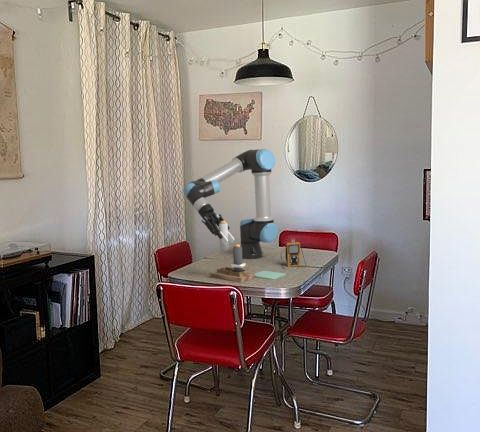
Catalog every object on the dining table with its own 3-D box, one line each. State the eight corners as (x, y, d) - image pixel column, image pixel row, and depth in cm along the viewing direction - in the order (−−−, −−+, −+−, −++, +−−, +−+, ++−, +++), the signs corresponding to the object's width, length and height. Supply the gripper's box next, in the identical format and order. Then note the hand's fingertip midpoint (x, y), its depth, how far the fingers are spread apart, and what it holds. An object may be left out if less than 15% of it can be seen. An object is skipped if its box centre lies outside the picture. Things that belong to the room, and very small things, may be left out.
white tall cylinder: (223, 249, 252) (222, 220, 250) (230, 250, 249) (229, 220, 247) (218, 251, 248) (216, 221, 246) (225, 251, 245) (223, 221, 243)
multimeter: (285, 270, 260) (284, 233, 258) (280, 266, 270) (279, 230, 268) (311, 268, 263) (311, 231, 261) (305, 264, 273) (304, 229, 270)
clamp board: (224, 273, 258) (224, 265, 258) (254, 277, 246) (254, 270, 245) (210, 277, 250) (210, 269, 249) (241, 282, 237) (240, 274, 237)
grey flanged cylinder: (237, 272, 249) (236, 243, 247) (249, 274, 244) (248, 244, 243) (230, 275, 245) (229, 245, 243) (242, 277, 240) (241, 246, 238)
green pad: (263, 271, 259) (263, 270, 259) (286, 274, 250) (286, 273, 250) (250, 276, 250) (250, 275, 249) (272, 279, 241) (272, 278, 241)
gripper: (211, 211, 262) (236, 243, 254) (188, 215, 249) (214, 249, 241) (218, 201, 258) (244, 234, 250) (195, 205, 245) (222, 240, 237)
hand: (229, 242), depth 246 cm, fingers closed on white tall cylinder, 4 cm apart
